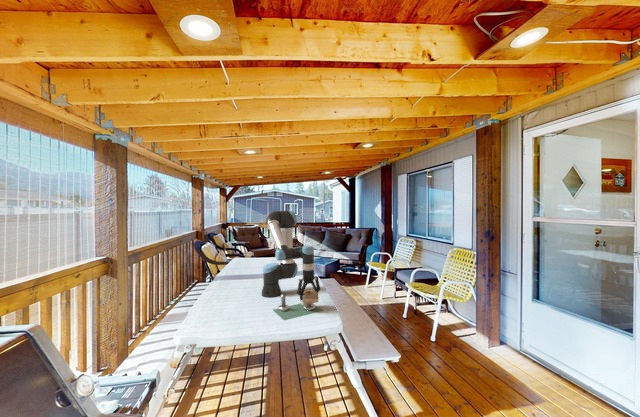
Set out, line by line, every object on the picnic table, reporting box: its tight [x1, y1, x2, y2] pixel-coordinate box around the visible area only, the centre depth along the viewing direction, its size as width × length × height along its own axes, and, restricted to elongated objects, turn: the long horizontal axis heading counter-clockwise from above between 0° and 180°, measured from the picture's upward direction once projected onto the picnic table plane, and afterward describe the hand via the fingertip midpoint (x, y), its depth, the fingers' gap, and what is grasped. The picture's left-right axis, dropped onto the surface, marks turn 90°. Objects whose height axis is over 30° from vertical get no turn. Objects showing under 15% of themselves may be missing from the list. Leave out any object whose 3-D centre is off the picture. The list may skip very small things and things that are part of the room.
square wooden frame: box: [299, 289, 319, 305], centre depth 191 cm, size 9×9×6 cm
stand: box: [277, 293, 290, 312], centre depth 191 cm, size 7×7×10 cm
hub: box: [303, 303, 316, 311], centre depth 191 cm, size 8×8×8 cm
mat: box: [272, 302, 324, 321], centre depth 190 cm, size 20×28×1 cm
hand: (309, 303), depth 191 cm, fingers closed on square wooden frame, 9 cm apart
